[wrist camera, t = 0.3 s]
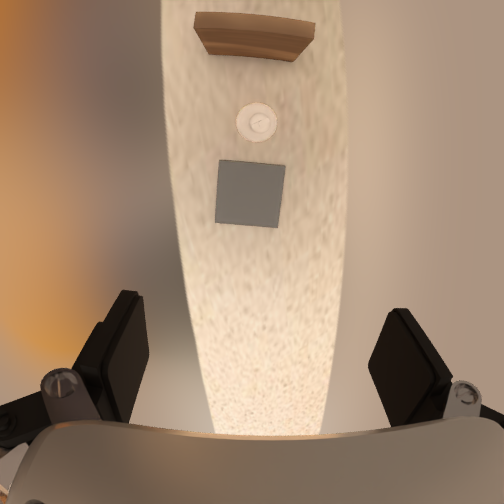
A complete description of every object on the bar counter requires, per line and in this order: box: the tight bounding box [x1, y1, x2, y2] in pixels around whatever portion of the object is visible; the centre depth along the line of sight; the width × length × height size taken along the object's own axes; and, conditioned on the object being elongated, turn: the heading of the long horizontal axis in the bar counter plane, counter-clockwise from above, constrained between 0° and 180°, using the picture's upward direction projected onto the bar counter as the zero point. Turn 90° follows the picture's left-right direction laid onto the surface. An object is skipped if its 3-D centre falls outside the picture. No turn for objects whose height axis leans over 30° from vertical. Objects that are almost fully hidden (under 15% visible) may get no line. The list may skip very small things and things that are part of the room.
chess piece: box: [236, 103, 277, 142], centre depth 31 cm, size 5×5×10 cm
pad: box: [215, 160, 285, 228], centre depth 39 cm, size 8×8×1 cm
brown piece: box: [194, 12, 315, 62], centre depth 26 cm, size 5×10×12 cm, turn 84°
